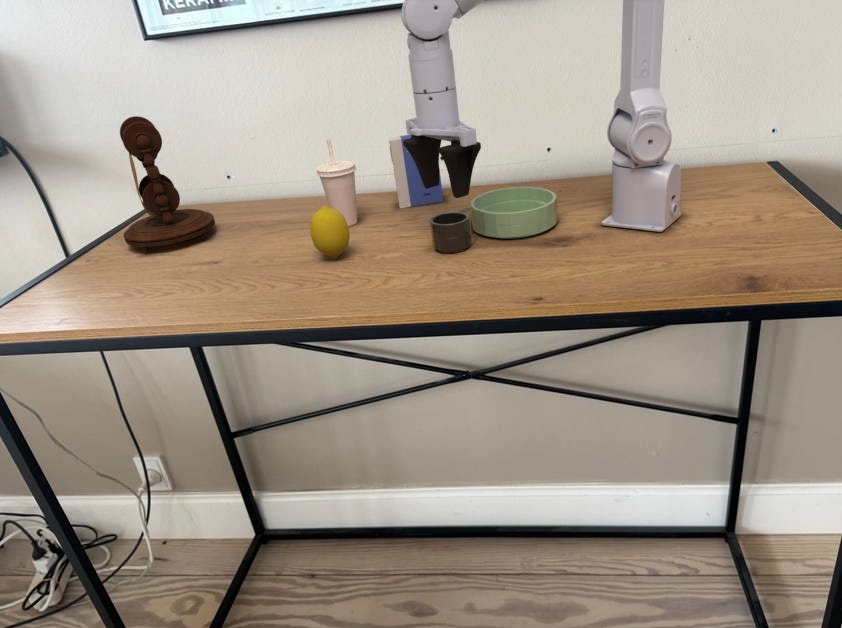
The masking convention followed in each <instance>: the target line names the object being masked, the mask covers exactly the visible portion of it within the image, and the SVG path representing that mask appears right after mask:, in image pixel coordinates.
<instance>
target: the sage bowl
mask: <svg viewBox="0 0 842 628" xmlns="http://www.w3.org/2000/svg"><path fill="white" fill-rule="evenodd" d="M470 210H471V212H470V213H471V214H470V215H471V223H472V229H473V231H475V232H476V233H477V234H479V235H482V236H485V237H488V238H494V239H501V240H503V239H504V240H506V239H507V240H510V239H511V240H513V239H522V238H527V237H532V236H536V235H539V234H542V233H543V232H545V231H548V230H550V229H551V228H553V227H555V225H556V224H557V223H558V197H557V195H556V192H554V191H552V190H549V189H546V188H543V187H535V186H512V187H503V188H499V189H493V190H489V191H487V192H483V193H481V194H479V195H477V196H475V197H474V198H473V199H472V200H471V201H470Z"/></svg>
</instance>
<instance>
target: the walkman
mask: <svg viewBox="0 0 842 628" xmlns="http://www.w3.org/2000/svg"><path fill="white" fill-rule="evenodd" d="M411 136H412V135H410V134H404V135H398V136H391V137H389V140H388V144H389V152H390V153H389V154H390V158H391V159H390V160H391V162H392V167H393V176H394V180H395V187H396V193H397V200H398V205H399V209H405V208H412V207H418V206H425V205H431V204H437V203H443V202H444V195H443V187H442V186H443V185H442V178H441V177H442V176H441V170H440V168H439V185H438V186H435V187H431V188H428V189H427V188H425V187H424V184H423V182H422V179H421V177H420V174H419V171H418V169H417V166H416V164H415V162H414V160H413V158H412V156H411V155H410V153H409V151H408V150H407V149H406V147H405V146H404V144H403V141H404V140H406V139H410V138H411Z"/></svg>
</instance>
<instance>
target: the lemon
mask: <svg viewBox="0 0 842 628" xmlns="http://www.w3.org/2000/svg"><path fill="white" fill-rule="evenodd" d="M309 230H310V232H309V233H310V238H311V241H312V243H313V245H314V247H315V249H316V250H317V251H319V252H320V253H321V254H323V255H325V256H329V257H330V258H331V259H337V258H338V257H339V256H340V255H341V254H342V253H343V252H345V250H346V249H347V248H348V245H349V244H350V243H349V242H350V229H349V226H348V225H347V222H346V220H345V218H344V216H343V215H342V214H341V213H340V212H339V211H338V210H336V209H333V208H330V206H329V205H322V207H321V208H320V209H318V210H316V211H315V212H314V214H313V216H312V217H311V220H310V225H309Z"/></svg>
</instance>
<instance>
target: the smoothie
mask: <svg viewBox="0 0 842 628" xmlns="http://www.w3.org/2000/svg"><path fill="white" fill-rule="evenodd" d="M326 143H327V149H328V152H329V158H330V162H327V163H324V164H321V165H319V166H317V167H316V169H315V170H316V175H317V176H318V177H319V179H320V182H321V185H322V188H323V191H324V193H325V197H326V200H327V204H328V207H329V208H333V209H336V210H338V211H339V212H340V213H341V214H342V215H343V216H344V218H345V220H346V222H347V225H348V227H351V226H353V225H356V224H357V223H358V210H357V193H356V192H357V190H356V175H355V174H356V173H355V171H356V170H357V168H356V163H355V162H354V161H351V160H338V161H335V157H334V153H333V147H332V141H331V138H328V139H326Z"/></svg>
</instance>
